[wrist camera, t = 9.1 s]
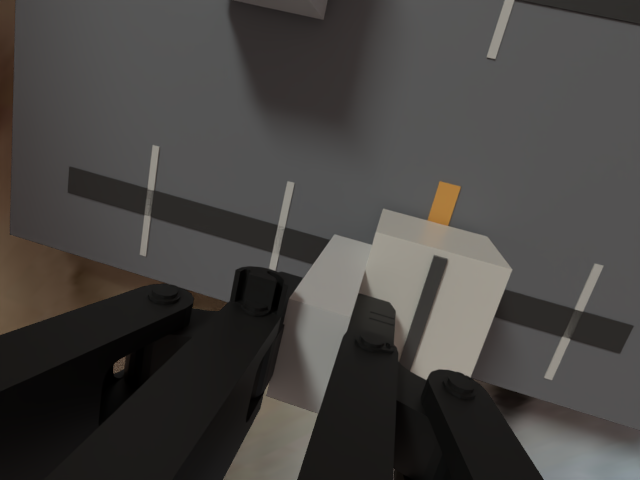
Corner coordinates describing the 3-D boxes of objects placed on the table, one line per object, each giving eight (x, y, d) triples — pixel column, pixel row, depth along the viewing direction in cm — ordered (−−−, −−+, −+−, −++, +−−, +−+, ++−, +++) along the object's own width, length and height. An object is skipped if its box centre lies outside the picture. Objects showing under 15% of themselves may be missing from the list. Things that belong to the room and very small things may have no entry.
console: (57, 230, 24) (8, 244, 21) (81, -174, 18) (19, -232, 16) (625, 403, 20) (663, 450, 17) (856, -42, 15) (968, -85, 12)
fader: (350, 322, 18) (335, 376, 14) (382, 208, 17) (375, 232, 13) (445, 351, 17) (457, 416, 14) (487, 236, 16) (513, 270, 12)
